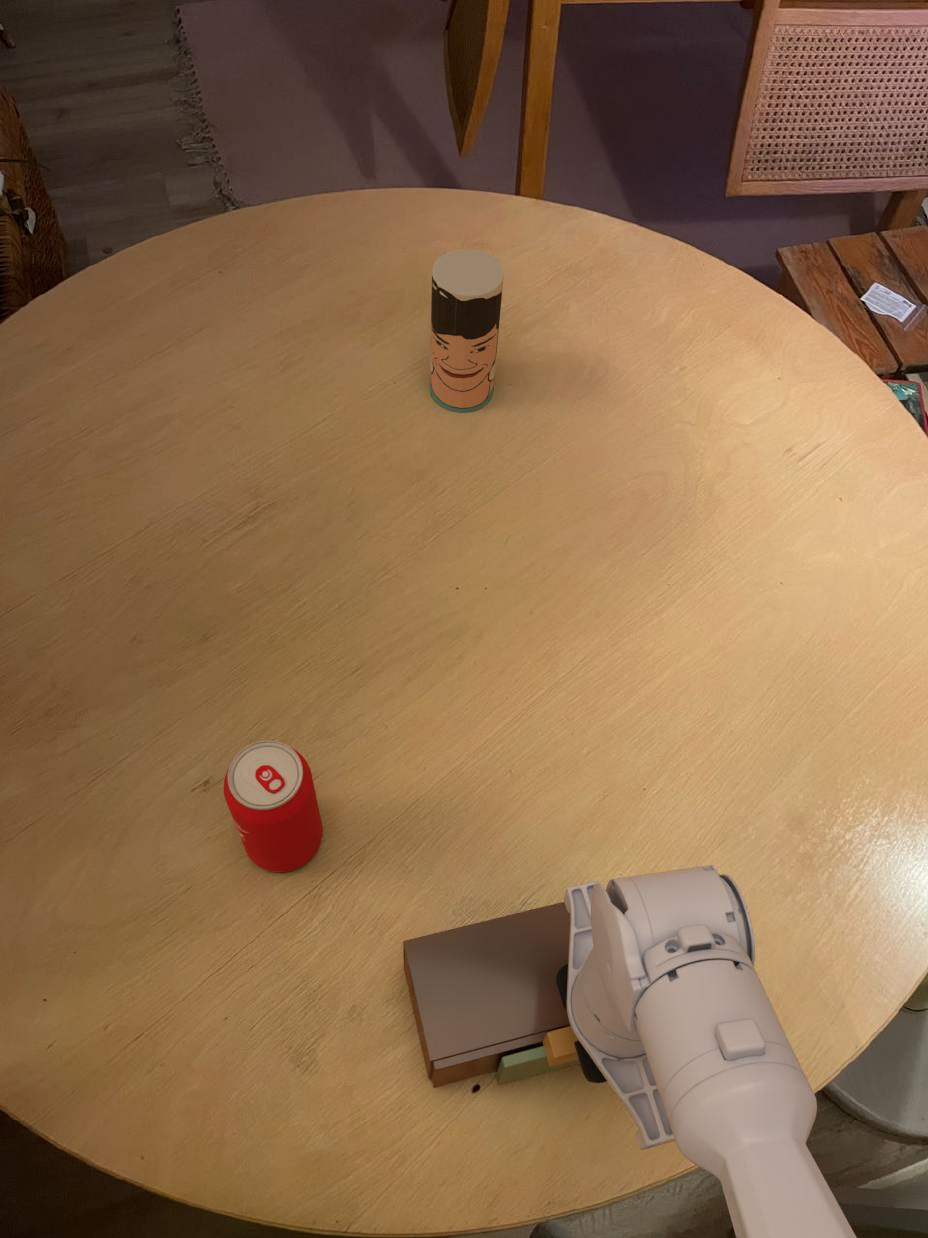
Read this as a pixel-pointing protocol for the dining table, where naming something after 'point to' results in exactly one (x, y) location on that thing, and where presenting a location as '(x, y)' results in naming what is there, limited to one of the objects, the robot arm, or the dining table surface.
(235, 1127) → the dining table surface
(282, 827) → the beverage can
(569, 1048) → the green drawer
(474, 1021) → the cabinet
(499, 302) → the tan and black cylinder
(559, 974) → the robot arm
